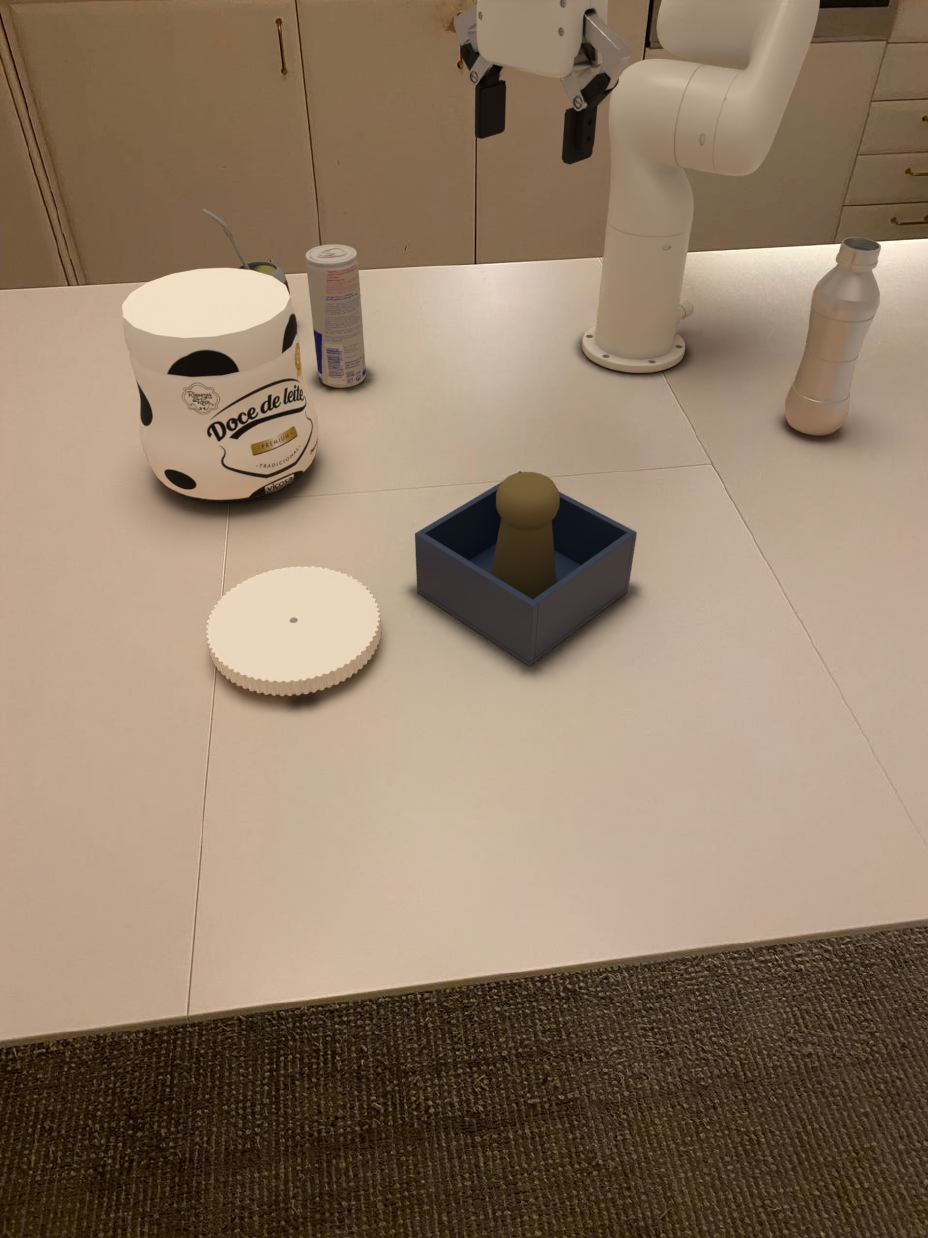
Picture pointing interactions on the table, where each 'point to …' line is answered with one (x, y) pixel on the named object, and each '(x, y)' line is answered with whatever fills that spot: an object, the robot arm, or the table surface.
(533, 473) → the olive brown pawn
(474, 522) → the blue square bin
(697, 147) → the robot arm
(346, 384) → the beverage can
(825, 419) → the plastic bottle
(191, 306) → the milk container
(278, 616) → the plastic lid
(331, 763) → the table surface
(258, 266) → the mate gourd
